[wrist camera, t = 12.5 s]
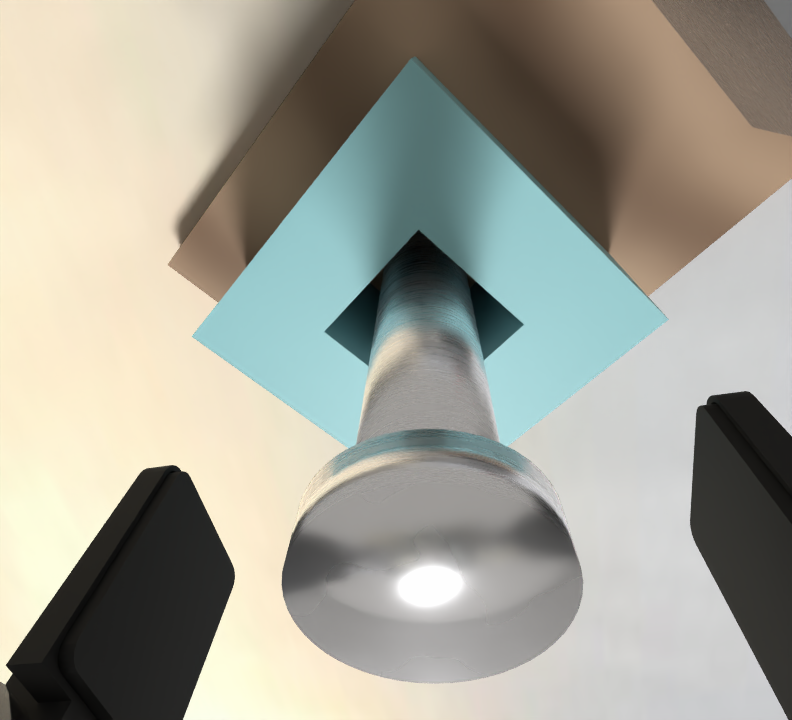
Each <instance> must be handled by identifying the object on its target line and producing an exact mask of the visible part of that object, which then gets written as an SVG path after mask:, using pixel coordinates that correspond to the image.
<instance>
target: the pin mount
mask: <svg viewBox="0 0 792 720" xmlns="http://www.w3.org/2000/svg"><path fill="white" fill-rule="evenodd" d="M652 1H653V3H654V4H655V5H656V6H657V8H658V9H659V10H660V11H661V13H662V14H663V15H664V16H665V18H666V19H667V20H668V22H669V23H670V24H671V25H672V27H673V28H674V29H675V30H676V32H677V33H678V34H679V35H680V37H681V38H682V39H683V40H684V42H685V43H686V44H687V46H688V47H689V48H690V49H691V51H692V52H693V53H694V54H695V56H696V57H697V58H698V59H699V61H700V62H701V63H702V65H703V66H704V67H705V68H706V70H707V71H708V72H709V73H710V75H711V76H712V77H713V78H714V80H715V81H716V82H717V83H718V85H719V86H720V87H721V89H722V90H723V91H724V92H725V94H726V95H727V96H728V97H729V99H730V100H731V101H732V102H733V104H734V105H735V106H736V107H737V109H738V110H739V111H740V113H741V114H742V115H743V116H744V118H745V119H746V120H747V121H748V123H749V124H750V125H751V126H752V127H753V128H758V129H762V130H766V131H770V132H775V133H779V134H783V135H787V136H792V0H652Z"/></svg>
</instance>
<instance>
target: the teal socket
mask: <svg viewBox="0 0 792 720" xmlns="http://www.w3.org/2000/svg"><path fill="white" fill-rule="evenodd" d="M418 230H420V231H421V232H422V233H423V234H424V235H425V236H426V237H427V238H428V239H430V240H431V241H432V242H433V243H434V244H435V245H436V246H437V247H438V248H440V249H441V250H442V251H443V252H444V253H445V254H446V255H447V256H448V257H450V258H451V259H452V260H453V261H454V262H455V263H456V264H457V265H458V266H460V267H461V268H462V269H463V270H464V271H465V272H466V273H467V274H468V275H470V276H471V277H472V278H473V279H474V280H475V281H476V283H475V284H474V285H473V286H472V287H471V288H470V289H469V290H470V295H471V300H472V305H473V310H474V315H475V320H476V325H477V330H478V335H479V340H480V345H481V350H482V355H483V360H484V365H485V370H486V375H487V380H488V385H489V390H490V395H491V400H492V405H493V410H494V415H495V420H496V425H497V430H498V435H499V440H500V443H501V444H503V445H505V446H509V445H510V444H511V443H512V442H514V441H515V440H516V439H517V438H519V437H520V436H521V435H523V434H524V433H525V432H526V431H528V430H529V429H530V428H531V427H533V426H534V425H535V424H536V423H538V422H539V421H540V420H542V419H543V418H544V417H545V416H547V415H548V414H549V413H550V412H552V411H553V410H554V409H556V408H557V407H558V406H559V405H561V404H562V403H563V402H564V401H566V400H567V399H568V398H570V397H571V396H572V395H573V394H575V393H576V392H577V391H578V390H580V389H581V388H582V387H583V386H585V385H586V384H587V383H589V382H590V381H591V380H592V379H594V378H595V377H596V376H597V375H599V374H600V373H601V372H603V371H604V370H605V369H606V368H608V367H609V366H610V365H611V364H613V363H614V362H615V361H616V360H618V359H619V358H620V357H622V356H623V355H624V354H625V353H627V352H628V351H629V350H630V349H632V348H633V347H634V346H636V345H637V344H638V343H639V342H641V341H642V340H643V339H644V338H646V337H647V336H648V335H649V334H651V333H652V332H653V331H655V330H656V329H657V328H658V327H660V326H661V325H662V324H663V323H665V322H666V321H667V320H669V319H668V318H667V317H666V316H665V315H664V314H663V313H662V312H661V310H660V309H659V308H658V307H657V306H656V305H655V304H654V303H653V302H652V300H651V299H650V298H649V297H648V296H647V295H646V294H645V293H644V292H643V291H642V289H641V288H640V287H639V286H638V285H637V284H636V283H635V282H634V281H633V279H632V278H631V277H630V276H629V275H628V274H627V273H626V272H625V271H624V269H623V268H622V267H621V266H620V265H619V264H618V263H617V262H616V261H615V259H614V258H613V257H612V256H611V255H610V254H609V253H608V252H607V251H606V250H605V249H604V248H603V247H602V246H601V245H600V244H599V243H598V242H597V241H596V240H595V239H594V238H593V237H592V236H591V234H590V233H589V232H588V231H587V230H586V229H585V228H584V227H583V226H582V225H581V224H580V223H579V222H578V221H577V220H576V219H575V218H574V217H573V216H572V215H571V214H570V213H569V212H568V211H567V210H566V209H565V208H564V207H563V206H562V205H561V204H560V203H559V202H558V201H557V200H556V199H555V198H554V197H553V196H552V195H551V194H550V193H549V192H548V191H547V190H546V189H545V188H544V187H543V186H542V185H541V184H540V183H539V182H538V181H537V180H536V179H535V177H534V176H533V175H532V174H531V173H530V172H529V171H528V170H527V169H526V168H525V167H524V166H523V165H522V164H521V163H520V162H519V161H518V160H517V159H516V158H515V157H514V156H513V155H512V154H511V153H510V152H509V151H508V150H507V149H506V148H505V147H504V146H503V145H502V144H501V143H500V142H499V141H498V140H497V139H496V138H495V137H494V136H493V135H492V134H491V133H490V132H489V131H488V130H487V129H486V128H485V127H484V126H483V125H482V124H481V123H480V122H479V120H478V119H477V118H476V117H475V116H474V115H473V114H472V113H471V112H470V111H469V110H468V109H467V108H466V107H465V106H464V105H463V104H462V103H461V102H460V101H459V100H458V99H457V98H456V97H455V96H454V95H453V94H452V93H451V92H450V91H449V90H448V89H447V88H446V87H445V86H444V85H443V84H442V83H441V82H440V81H439V80H438V79H437V78H436V77H435V76H434V75H433V74H432V73H431V72H430V71H429V70H428V69H427V68H426V67H425V66H424V64H423V63H422V62H421V61H420V60H419V59H418V58H417V57H416V56H415V57H413V58H411V59H410V60H409V62H408V63H407V64H406V65H405V67H404V68H403V69H402V70H401V72H400V73H399V74H398V76H397V77H396V78H395V79H394V81H393V82H392V83H391V84H390V86H389V87H388V88H387V90H386V91H385V92H384V93H383V95H382V96H381V97H380V98H379V100H378V101H377V102H376V103H375V105H374V106H373V107H372V109H371V110H370V111H369V112H368V114H367V115H366V116H365V117H364V119H363V120H362V121H361V123H360V124H359V125H358V126H357V128H356V129H355V130H354V131H353V133H352V134H351V135H350V136H349V138H348V139H347V140H346V142H345V143H344V144H343V145H342V147H341V148H340V149H339V150H338V152H337V153H336V154H335V155H334V157H333V158H332V159H331V161H330V162H329V163H328V164H327V166H326V167H325V168H324V169H323V171H322V172H321V173H320V175H319V176H318V177H317V178H316V180H315V181H314V182H313V183H312V185H311V186H310V187H309V188H308V190H307V191H306V192H305V194H304V195H303V196H302V197H301V199H300V200H299V201H298V202H297V204H296V205H295V206H294V208H293V209H292V210H291V211H290V213H289V214H288V215H287V216H286V218H285V219H284V220H283V221H282V223H281V224H280V225H279V227H278V228H277V229H276V230H275V232H274V233H273V234H272V235H271V237H270V238H269V239H268V240H267V242H266V243H265V244H264V246H263V247H262V248H261V249H260V251H259V252H258V253H257V254H256V256H255V257H254V258H253V260H252V261H251V262H250V263H249V265H248V266H247V267H246V268H245V270H244V271H243V272H242V273H241V275H240V276H239V277H238V279H237V280H236V281H235V282H234V284H233V285H232V286H231V287H230V289H229V290H228V291H227V292H226V294H225V295H224V296H223V298H222V299H221V300H220V301H219V303H218V304H217V305H216V306H215V308H214V309H213V310H212V312H211V313H210V314H209V315H208V317H207V318H206V319H205V320H204V322H203V323H202V324H201V325H200V327H199V328H198V329H197V331H196V332H195V333H194V334H193V336H192V337H193V338H195V339H196V340H197V341H199V342H200V343H202V344H203V345H204V346H206V347H207V348H209V349H210V350H211V351H213V352H214V353H216V354H217V355H218V356H220V357H221V358H223V359H224V360H225V361H227V362H228V363H230V364H231V365H232V366H234V367H235V368H237V369H238V370H239V371H241V372H242V373H244V374H245V375H246V376H248V377H249V378H251V379H252V380H253V381H255V382H256V383H258V384H259V385H260V386H262V387H263V388H265V389H266V390H267V391H269V392H270V393H272V394H273V395H274V396H276V397H277V398H279V399H280V400H282V401H283V402H284V403H286V404H287V405H289V406H290V407H291V408H293V409H294V410H296V411H297V412H298V413H300V414H301V415H303V416H304V417H305V418H307V419H308V420H310V421H311V422H312V423H314V424H315V425H317V426H318V427H319V428H321V429H322V430H324V431H325V432H326V433H328V434H329V435H331V436H332V437H333V438H335V439H336V440H338V441H339V442H340V443H342V444H343V445H345V446H346V447H347V448H350V447H352V446H354V445H356V442H357V435H358V429H359V423H360V416H361V410H362V404H363V398H364V391H365V385H366V379H367V372H368V366H369V360H370V353H371V347H372V341H373V335H374V328H375V322H376V316H377V309H378V303H379V297H380V291H379V290H378V289H376V288H375V287H374V286H373V285H372V284H370V282H371V280H372V279H373V278H374V277H375V276H376V275H377V274H378V273H379V272H380V271H381V270H382V269H383V267H384V266H385V265H386V264H387V263H388V262H389V261H390V260H391V259H392V258H393V257H394V256H395V254H396V253H397V252H398V251H399V250H400V249H401V248H402V247H403V246H404V245H405V244H406V243H407V242H408V240H409V239H410V238H411V237H412V236H413V235H414V234H415V233H416V232H417V231H418Z"/></svg>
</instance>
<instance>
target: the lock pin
mask: <svg viewBox="0 0 792 720" xmlns="http://www.w3.org/2000/svg"><path fill="white" fill-rule="evenodd" d="M282 590H283V597H284V600H285V603H286V606H287V609H288V611H289V613H290V615H291V617H292V618H293V620H294V622H295V623H296V625H297V626H298V627H299V629H300V630H301V631H302V632H303V634H304V635H305V636H306V637H307V638H308V639H309V640H311V641H312V642H313V643H314V644H315V645H316V646H318V647H319V648H320V649H321V650H323V651H324V652H325V653H327V654H329V655H330V656H332V657H334V658H335V659H337V660H339V661H341V662H343V663H345V664H347V665H349V666H351V667H353V668H356V669H358V670H361V671H364V672H366V673H370V674H373V675H377V676H380V677H384V678H389V679H394V680H399V681H407V682H415V683H454V682H463V681H471V680H476V679H481V678H486V677H489V676H493V675H496V674H500V673H503V672H505V671H508V670H511V669H513V668H516V667H518V666H520V665H522V664H524V663H526V662H528V661H530V660H532V659H533V658H535V657H536V656H538V655H540V654H541V653H543V652H544V651H545V650H547V649H548V648H549V647H550V646H551V645H553V644H554V643H555V642H556V641H557V640H558V639H559V638H560V637H561V636H562V635H563V634H564V633H565V631H566V630H567V629H568V627H569V626H570V624H571V623H572V621H573V620H574V617H575V615H576V613H577V611H578V609H579V606H580V602H581V598H582V591H583V578H582V571H581V566H580V563H579V560H578V556H577V553H576V550H575V547H574V543H573V540H572V537H571V534H570V530H569V527H568V524H567V521H566V517H565V514H564V511H563V508H562V505H561V502H560V499H559V496H558V494H557V493H556V491H555V489H554V487H553V486H552V484H551V482H550V481H549V480H548V479H547V477H546V476H545V475H544V474H543V473H542V471H541V470H539V469H538V468H537V467H536V466H535V465H534V464H533V463H532V462H531V461H530V460H528V459H527V458H525V457H524V456H522V455H521V454H519V453H518V452H516V451H515V450H513V449H511V448H509V447H507V446H505V445H503V444H501V443H500V440H499V435H498V430H497V425H496V420H495V415H494V410H493V405H492V400H491V395H490V390H489V385H488V380H487V375H486V370H485V365H484V360H483V355H482V350H481V345H480V340H479V335H478V330H477V325H476V320H475V315H474V310H473V305H472V300H471V295H470V290H469V285H468V280H467V275H466V272H465V271H464V270H463V269H462V268H461V267H460V266H458V265H457V264H456V263H455V262H454V261H453V260H452V259H451V258H450V257H448V256H447V255H446V254H445V253H444V252H443V251H442V250H441V249H440V248H438V247H437V246H436V245H435V244H434V243H433V242H432V241H431V240H430V239H428V238H427V237H426V236H425V235H424V234H423V233H422V232H421V231H420V230H418V231H417V232H416V233H415V234H414V235H413V236H412V237H411V238H410V239H409V240H408V242H407V243H406V244H405V245H404V246H403V247H402V248H401V249H400V250H399V251H398V252H397V253H396V254H395V256H394V257H393V258H392V259H391V260H390V261H389V262H388V263H387V264H386V265H385V266H384V272H383V278H382V284H381V291H380V297H379V303H378V309H377V316H376V322H375V328H374V335H373V341H372V347H371V353H370V360H369V366H368V372H367V379H366V385H365V391H364V398H363V404H362V410H361V416H360V423H359V429H358V435H357V442H356V445H354V446H352V447H350V448H349V449H347V450H345V451H344V452H342V453H340V454H339V455H337V456H336V457H335V458H333V459H332V460H331V461H330V462H328V463H327V464H326V465H325V466H324V467H323V468H322V469H321V470H320V471H319V472H318V473H317V474H316V475H315V476H314V478H313V479H312V481H311V482H310V484H309V485H308V487H307V488H306V490H305V492H304V494H303V497H302V499H301V501H300V505H299V509H298V513H297V517H296V521H295V524H294V528H293V532H292V536H291V540H290V544H289V547H288V551H287V555H286V559H285V563H284V567H283V571H282Z"/></svg>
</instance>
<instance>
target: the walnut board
mask: <svg viewBox="0 0 792 720" xmlns="http://www.w3.org/2000/svg"><path fill="white" fill-rule="evenodd" d="M415 56H416V57H417V58H418V59H419V60H420V61H421V62H422V63H423V64H424V66H425V67H426V68H427V69H428V70H429V71H430V72H431V73H432V74H433V75H434V76H435V77H436V78H437V79H438V80H439V81H440V82H441V83H442V84H443V85H444V86H445V87H446V88H447V89H448V90H449V91H450V92H451V93H452V94H453V95H454V96H455V97H456V98H457V99H458V100H459V101H460V102H461V103H462V104H463V105H464V106H465V107H466V108H467V109H468V110H469V111H470V112H471V113H472V114H473V115H474V116H475V117H476V118H477V119H478V120H479V122H480V123H481V124H482V125H483V126H484V127H485V128H486V129H487V130H488V131H489V132H490V133H491V134H492V135H493V136H494V137H495V138H496V139H497V140H498V141H499V142H500V143H501V144H502V145H503V146H504V147H505V148H506V149H507V150H508V151H509V152H510V153H511V154H512V155H513V156H514V157H515V158H516V159H517V160H518V161H519V162H520V163H521V164H522V165H523V166H524V167H525V168H526V169H527V170H528V171H529V172H530V173H531V174H532V175H533V176H534V177H535V179H536V180H537V181H538V182H539V183H540V184H541V185H542V186H543V187H544V188H545V189H546V190H547V191H548V192H549V193H550V194H551V195H552V196H553V197H554V198H555V199H556V200H557V201H558V202H559V203H560V204H561V205H562V206H563V207H564V208H565V209H566V210H567V211H568V212H569V213H570V214H571V215H572V216H573V217H574V218H575V219H576V220H577V221H578V222H579V223H580V224H581V225H582V226H583V227H584V228H585V229H586V230H587V231H588V232H589V233H590V234H591V236H592V237H593V238H594V239H595V240H596V241H597V242H598V243H599V244H600V245H601V246H602V247H603V248H604V249H605V250H606V251H607V252H608V253H609V254H610V255H611V256H612V257H613V258H614V259H615V261H616V262H617V263H618V264H619V265H620V266H621V267H622V268H623V269H624V271H625V272H626V273H627V274H628V275H629V276H630V277H631V278H632V279H633V281H634V282H635V283H636V284H637V285H638V286H639V287H640V288H641V289H642V291H643V292H644V293H645V294H646V295H647V296H649V295H650V294H651V293H653V292H654V291H655V290H656V289H658V288H659V287H660V286H661V285H662V284H664V283H665V282H666V281H667V280H669V279H670V278H671V277H672V276H673V275H675V274H676V273H677V272H678V271H679V270H681V269H682V268H683V267H684V266H686V265H687V264H688V263H689V262H690V261H692V260H693V259H694V258H695V257H697V256H698V255H699V254H700V253H701V252H703V251H704V250H705V249H706V248H708V247H709V246H710V245H711V244H712V243H714V242H715V241H716V240H717V239H718V238H720V237H721V236H722V235H723V234H725V233H726V232H727V231H728V230H729V229H731V228H732V227H733V226H734V225H736V224H737V223H738V222H739V221H740V220H742V219H743V218H744V217H745V216H747V215H748V214H749V213H750V212H751V211H753V210H754V209H755V208H756V207H757V206H759V205H760V204H761V203H762V202H764V201H765V200H766V199H767V198H768V197H770V196H771V195H772V194H773V193H775V192H776V191H777V190H778V189H779V188H781V187H782V186H783V185H784V184H786V183H787V182H788V181H789V180H790V179H792V136H787V135H783V134H779V133H775V132H770V131H766V130H762V129H758V128H753V127H752V126H751V125H750V124H749V123H748V121H747V120H746V119H745V118H744V116H743V115H742V114H741V113H740V111H739V110H738V109H737V107H736V106H735V105H734V104H733V102H732V101H731V100H730V99H729V97H728V96H727V95H726V94H725V92H724V91H723V90H722V89H721V87H720V86H719V85H718V83H717V82H716V81H715V80H714V78H713V77H712V76H711V75H710V73H709V72H708V71H707V70H706V68H705V67H704V66H703V65H702V63H701V62H700V61H699V59H698V58H697V57H696V56H695V54H694V53H693V52H692V51H691V49H690V48H689V47H688V46H687V44H686V43H685V42H684V40H683V39H682V38H681V37H680V35H679V34H678V33H677V32H676V30H675V29H674V28H673V27H672V25H671V24H670V23H669V22H668V20H667V19H666V18H665V16H664V15H663V14H662V13H661V11H660V10H659V9H658V8H657V6H656V5H655V4H654V3H653V1H652V0H355V1H354V2H353V4H352V5H351V7H350V8H349V9H348V11H347V12H346V14H345V15H344V16H343V18H342V19H341V21H340V22H339V23H338V25H337V26H336V28H335V29H334V31H333V32H332V33H331V35H330V36H329V38H328V39H327V40H326V42H325V43H324V45H323V46H322V47H321V49H320V50H319V52H318V53H317V55H316V56H315V57H314V59H313V60H312V62H311V63H310V64H309V66H308V67H307V69H306V70H305V71H304V73H303V74H302V76H301V77H300V79H299V80H298V81H297V83H296V84H295V86H294V87H293V88H292V90H291V91H290V93H289V94H288V95H287V97H286V98H285V100H284V101H283V103H282V104H281V105H280V107H279V108H278V110H277V111H276V112H275V114H274V115H273V117H272V118H271V119H270V121H269V122H268V124H267V125H266V126H265V128H264V129H263V131H262V132H261V134H260V135H259V136H258V138H257V139H256V141H255V142H254V143H253V145H252V146H251V148H250V149H249V150H248V152H247V153H246V155H245V156H244V158H243V159H242V160H241V162H240V163H239V165H238V166H237V167H236V169H235V170H234V172H233V173H232V174H231V176H230V177H229V179H228V180H227V182H226V183H225V184H224V186H223V187H222V189H221V190H220V191H219V193H218V194H217V196H216V197H215V198H214V200H213V201H212V203H211V204H210V205H209V207H208V208H207V210H206V211H205V213H204V214H203V215H202V217H201V218H200V220H199V221H198V222H197V224H196V225H195V227H194V228H193V229H192V231H191V232H190V234H189V235H188V237H187V238H186V239H185V241H184V242H183V244H182V245H181V246H180V248H179V249H178V251H177V252H176V253H175V255H174V256H173V258H172V259H171V261H170V262H169V263H168V265H169V266H170V267H171V268H173V269H174V270H175V271H177V272H178V273H179V274H181V275H182V276H183V277H185V278H186V279H187V280H189V281H190V282H191V283H193V284H194V285H195V286H197V287H198V288H199V289H201V290H202V291H204V292H205V293H206V294H208V295H209V296H210V297H212V298H213V299H214V300H216V301H217V302H218V303H219V301H220V300H221V299H222V298H223V296H224V295H225V294H226V292H227V291H228V290H229V289H230V287H231V286H232V285H233V284H234V282H235V281H236V280H237V279H238V277H239V276H240V275H241V273H242V272H243V271H244V270H245V268H246V267H247V266H248V265H249V263H250V262H251V261H252V260H253V258H254V257H255V256H256V254H257V253H258V252H259V251H260V249H261V248H262V247H263V246H264V244H265V243H266V242H267V240H268V239H269V238H270V237H271V235H272V234H273V233H274V232H275V230H276V229H277V228H278V227H279V225H280V224H281V223H282V221H283V220H284V219H285V218H286V216H287V215H288V214H289V213H290V211H291V210H292V209H293V208H294V206H295V205H296V204H297V202H298V201H299V200H300V199H301V197H302V196H303V195H304V194H305V192H306V191H307V190H308V188H309V187H310V186H311V185H312V183H313V182H314V181H315V180H316V178H317V177H318V176H319V175H320V173H321V172H322V171H323V169H324V168H325V167H326V166H327V164H328V163H329V162H330V161H331V159H332V158H333V157H334V155H335V154H336V153H337V152H338V150H339V149H340V148H341V147H342V145H343V144H344V143H345V142H346V140H347V139H348V138H349V136H350V135H351V134H352V133H353V131H354V130H355V129H356V128H357V126H358V125H359V124H360V123H361V121H362V120H363V119H364V117H365V116H366V115H367V114H368V112H369V111H370V110H371V109H372V107H373V106H374V105H375V103H376V102H377V101H378V100H379V98H380V97H381V96H382V95H383V93H384V92H385V91H386V90H387V88H388V87H389V86H390V84H391V83H392V82H393V81H394V79H395V78H396V77H397V76H398V74H399V73H400V72H401V70H402V69H403V68H404V67H405V65H406V64H407V63H408V62H409V60H410V59H411V58H413V57H415ZM383 272H384V267H383V269H382V270H381V271H380V272H379V273H378V274H377V275H376V276H375V277H374V278H373V279H372V280H371V282H370V284H372V285H373V286H374V287H375V288H376V289H378V290H379V291H381V284H382V278H383ZM466 275H467V280H468V285H469V289H470V288H471V287H472V286H473V285H474V284H475V283H476V281H475V280H474V279H473V278H472V277H471V276H470V275H468V274H467V273H466Z"/></svg>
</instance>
